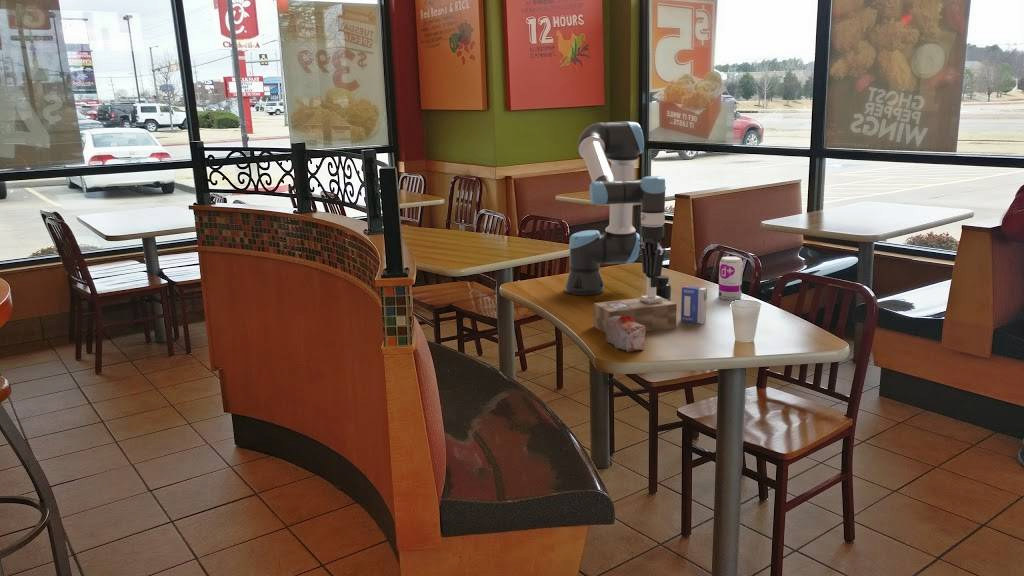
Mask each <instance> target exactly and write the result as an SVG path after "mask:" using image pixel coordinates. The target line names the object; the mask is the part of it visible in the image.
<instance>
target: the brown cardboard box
mask: <svg viewBox="0 0 1024 576" xmlns="http://www.w3.org/2000/svg"><path fill="white" fill-rule="evenodd" d="M659 297H660V296H659ZM661 298H662V297H661ZM617 303H623V304H625V305H627V306H629V307H623V308H613V307H611V306H609V305H608V304H617ZM677 308H678V307H677V303H675V302H673V301H669V300H666V299H664V298H662V303H657V304H646V303H643V302H641V297H635V298H629V299H619V300H611V301H610V300H608V301H602V302H593V328H596V329H597V330H599V331H600V332H602V333H603V334H605V335H606V323H607V322H606V320H607V319H608V318H610V317H613V316H624V315H626V316H632V318H633V319H635V321H634V322H636V323H638V324H641V325H644V326H645V333H646V332H653V331H654V332H655V331H660V330H667V329H668V328H669V329H676V328H677V310H678V309H677ZM669 329H668V330H669Z"/></svg>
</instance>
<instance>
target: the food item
mask: <svg viewBox="0 0 1024 576" xmlns="http://www.w3.org/2000/svg"><path fill="white" fill-rule="evenodd" d="M634 321H635V319H633V318H632V316H626V315H624V316H613V317H610V318H608V319H607V320H606V322H607V323H606V334H605V342H606V343H608V344H611V345H613V346H614V348H615V349H618V350H619V349H621V350H623V351H625V350H626V352H627V353H631V352H640V351H639V350H641V351H644V350H645V346H644V345H645V339H646V336H645V335H646V332H645V326H644V325H641V324H638V323H636V322H634Z"/></svg>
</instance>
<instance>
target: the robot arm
mask: <svg viewBox="0 0 1024 576" xmlns="http://www.w3.org/2000/svg"><path fill="white" fill-rule="evenodd" d="M577 150H578V153H579V156H580V157H581V158H583V160H584V162H585V166H586V168H587V171H588V174H589V177H590V179H591V182H590V184H589V189H588V190H589V191H588V192H589V193H588V195H589V200H590V203H591V204H593V205H602V206H603V205H604V206H605V205H609V225H608V226H607V227H605V231H604V232H605V233H602V234H601V233H600V231H599V230H597V229H589V230H582V231H581V230H580V231H578V232H575V233H573V234H571V236H570V237H569V246H568V248H569V273H568V275H567V278H566V281H565V285H564V291H566V292H567V293H566V292H565V293H566V294H569V293H570V294H569V295H574V296H596V295H600V294H602V293H604V292H605V284H604V281H603V278H602V275H601V272H600V269H601V268H600V266H601V265H615V264H617V265H618V264H620V265H621V264H622V265H623V264H631V263H635V262H636V260H637V259H638V257H639V253H640V255H641V264H642V265H641V266H642V273H643V274H645V276H646V295H647V297H655V296H656V284H657V277H659V276H661V275H662V272H663V271H662V269H663V264H664V263H663V262H664V258H665V254H666V249H665V248H663V247H662V241H661V240H662V239H663V238H664V236H665V226H664V225H665V221H666V220H665V215H666V212H665V211H666V208H665V207H666V189H667V187H666V179H665V177H663V176H659V175H656V176H655V175H654V176H653V175H652V176H651V175H650V176H644V177H642V178H641V179H637V180H636V179H635V176H634V175H635V163H636V162H638V160H639V159H640V158H639V155H641V154H643V153H644V150H645V137H644V133H643V130H642V127H641V125H640V124H639V123H638V122H636V121H626V120H625V121H610V122H609V121H608V122H607V121H605V122H602V121H601V122H594V123H593V124H591V125H589V126H587V127H586V128H585V129H583V131H582V132H581V134H580V135H579V138H578V140H577ZM634 179H635V180H634ZM633 204H640V205H641V206H640V212H641V213H640V216H639V217H640V224H641V226H640V234H639V233H638V232H636V228H635V226H633V207H634V206H633ZM641 238H643V243H641V242H640V241H641Z"/></svg>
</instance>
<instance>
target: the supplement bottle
mask: <svg viewBox="0 0 1024 576" xmlns="http://www.w3.org/2000/svg"><path fill="white" fill-rule="evenodd" d="M669 280H670V279H669V276H667V275H662V274H661V276H659V277H657V284H656V295H657V296H660V297H662V298H664V299H666V300H669V301H671V300H672V285H671V284H670V283H669V282H670V281H669ZM671 302H672V301H671Z"/></svg>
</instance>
